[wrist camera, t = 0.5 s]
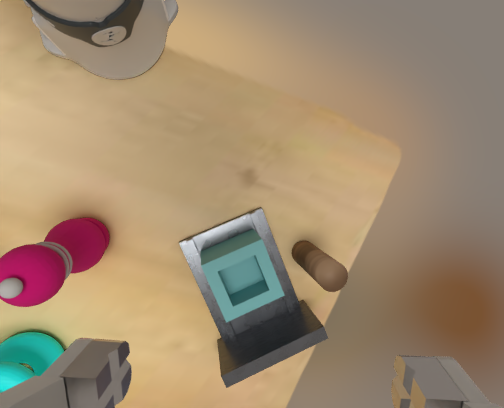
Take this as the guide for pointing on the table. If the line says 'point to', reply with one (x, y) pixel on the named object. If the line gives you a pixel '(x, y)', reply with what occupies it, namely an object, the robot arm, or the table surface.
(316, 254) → the dowel
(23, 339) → the donuts
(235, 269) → the socket block
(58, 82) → the table surface
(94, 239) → the pepper mill
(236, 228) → the track
